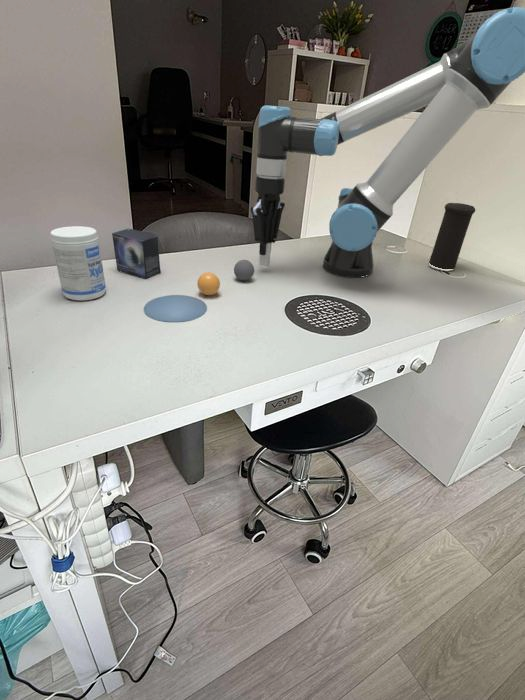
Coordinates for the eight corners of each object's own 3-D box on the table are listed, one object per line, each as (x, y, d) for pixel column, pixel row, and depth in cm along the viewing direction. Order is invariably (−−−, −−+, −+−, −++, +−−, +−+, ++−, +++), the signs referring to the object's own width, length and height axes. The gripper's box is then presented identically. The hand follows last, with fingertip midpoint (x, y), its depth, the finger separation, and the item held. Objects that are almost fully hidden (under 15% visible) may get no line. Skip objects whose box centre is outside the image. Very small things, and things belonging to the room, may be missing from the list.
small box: (115, 271, 106) (109, 232, 100) (132, 265, 111) (128, 227, 105) (145, 280, 102) (141, 240, 97) (161, 273, 107) (158, 234, 102)
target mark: (219, 307, 90) (219, 306, 90) (174, 328, 80) (174, 327, 80) (176, 291, 97) (176, 290, 97) (130, 308, 87) (130, 307, 87)
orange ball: (224, 294, 97) (224, 273, 94) (209, 300, 93) (209, 279, 90) (208, 288, 100) (207, 267, 97) (192, 294, 96) (192, 273, 93)
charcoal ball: (257, 279, 107) (258, 260, 104) (245, 285, 103) (246, 265, 100) (242, 274, 110) (242, 255, 107) (229, 279, 106) (229, 260, 103)
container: (457, 267, 129) (478, 204, 118) (452, 274, 122) (474, 208, 112) (430, 261, 132) (448, 199, 122) (424, 268, 126) (443, 203, 115)
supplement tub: (104, 301, 89) (94, 237, 82) (59, 303, 87) (44, 237, 79) (108, 285, 97) (99, 225, 90) (67, 286, 95) (54, 225, 87)
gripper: (272, 173, 106) (266, 257, 119) (243, 176, 97) (239, 267, 109) (296, 176, 103) (287, 263, 115) (267, 180, 94) (261, 273, 106)
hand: (264, 264), depth 112 cm, fingers closed
